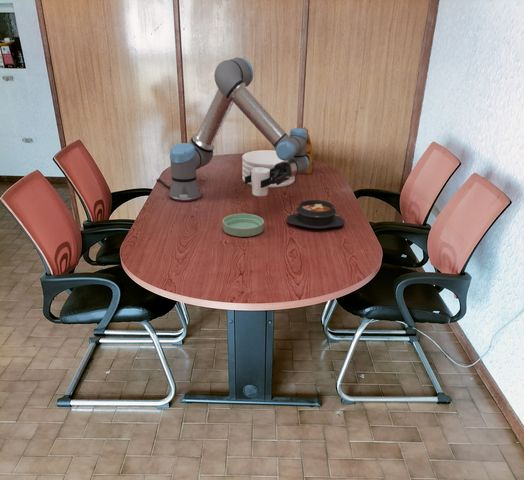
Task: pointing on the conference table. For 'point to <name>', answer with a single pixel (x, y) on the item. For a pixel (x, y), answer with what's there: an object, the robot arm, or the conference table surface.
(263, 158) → the plate stack
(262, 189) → the white cup
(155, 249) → the conference table surface
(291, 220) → the casserole
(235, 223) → the basin
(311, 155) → the coffee package
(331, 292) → the conference table surface
